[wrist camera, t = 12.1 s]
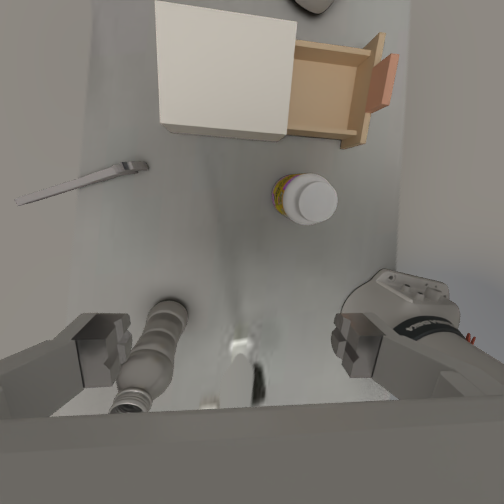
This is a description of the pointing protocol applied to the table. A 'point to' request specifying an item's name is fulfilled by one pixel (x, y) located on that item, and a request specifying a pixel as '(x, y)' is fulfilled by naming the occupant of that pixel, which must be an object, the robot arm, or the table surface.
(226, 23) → the sleeve
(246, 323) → the table surface
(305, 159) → the table surface
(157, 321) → the plastic bottle
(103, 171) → the caliper
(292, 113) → the tray
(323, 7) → the spread jar
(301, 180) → the supplement bottle
